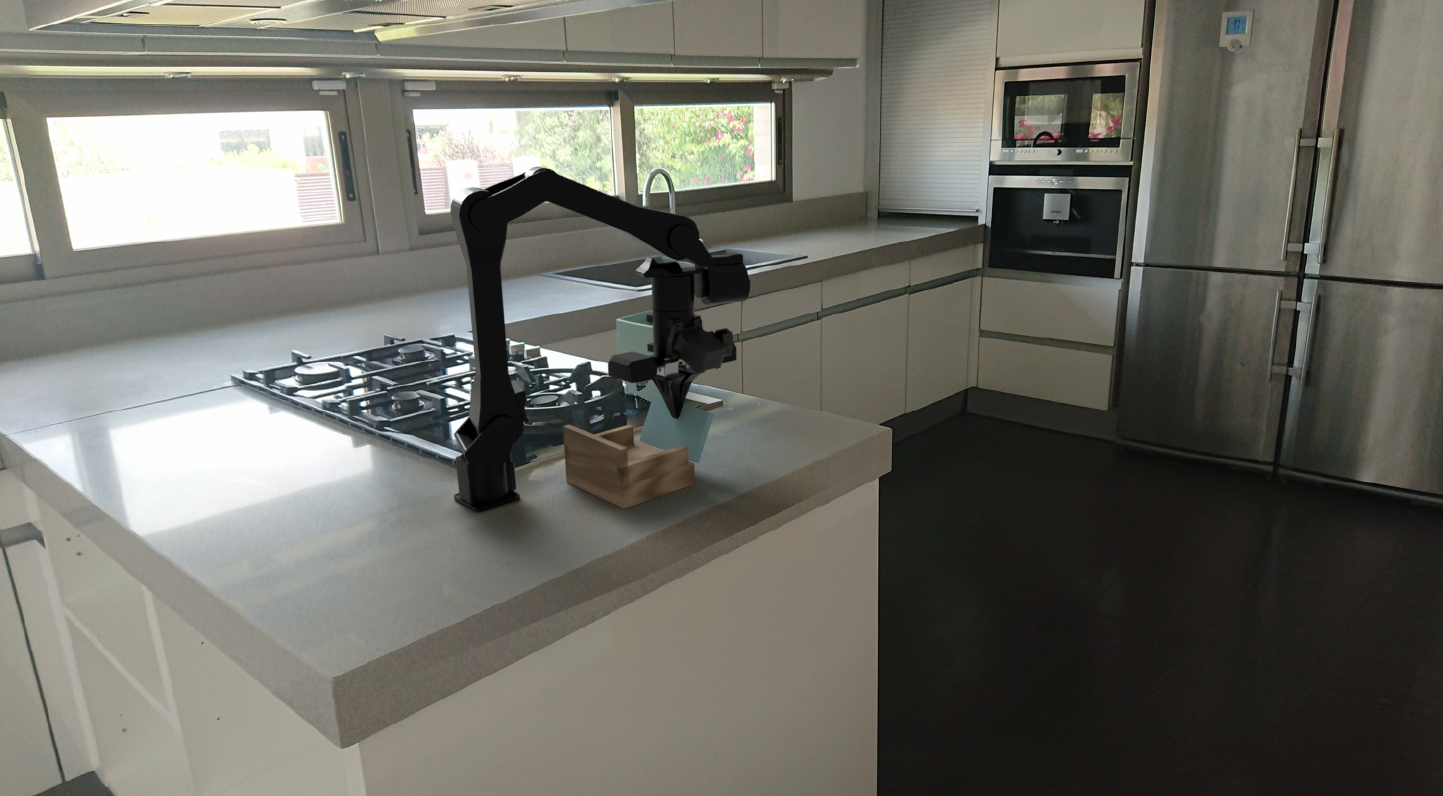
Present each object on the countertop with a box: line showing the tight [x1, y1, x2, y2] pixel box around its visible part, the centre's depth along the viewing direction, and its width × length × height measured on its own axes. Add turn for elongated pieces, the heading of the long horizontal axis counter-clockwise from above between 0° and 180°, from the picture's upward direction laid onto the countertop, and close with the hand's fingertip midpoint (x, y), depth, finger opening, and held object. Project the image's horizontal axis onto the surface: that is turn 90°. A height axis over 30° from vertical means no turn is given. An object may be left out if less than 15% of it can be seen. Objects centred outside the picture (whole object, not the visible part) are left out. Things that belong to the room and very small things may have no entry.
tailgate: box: [638, 395, 715, 464], centre depth 133 cm, size 2×12×7 cm, turn 43°
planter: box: [615, 309, 662, 403], centre depth 168 cm, size 16×8×20 cm, turn 3°
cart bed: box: [562, 424, 696, 510], centre depth 128 cm, size 12×13×8 cm
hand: (675, 417), depth 133 cm, fingers closed, pressing on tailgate
